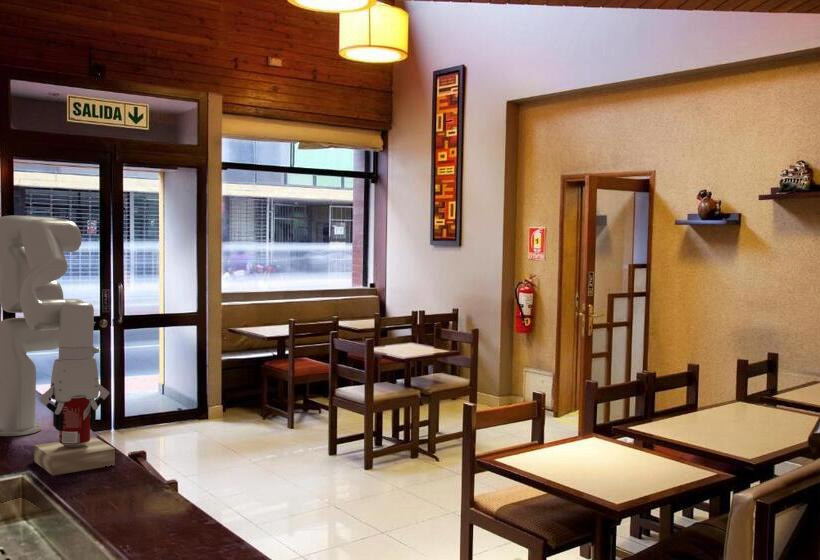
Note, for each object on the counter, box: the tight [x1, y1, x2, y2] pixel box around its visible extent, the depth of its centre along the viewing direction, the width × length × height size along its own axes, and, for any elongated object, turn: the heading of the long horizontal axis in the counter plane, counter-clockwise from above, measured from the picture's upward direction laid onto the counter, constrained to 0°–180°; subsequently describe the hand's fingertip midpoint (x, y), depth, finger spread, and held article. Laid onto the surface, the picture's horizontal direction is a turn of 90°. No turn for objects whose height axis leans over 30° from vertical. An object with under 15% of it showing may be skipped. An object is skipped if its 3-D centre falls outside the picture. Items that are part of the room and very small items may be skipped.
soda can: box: [58, 396, 91, 447], centre depth 177 cm, size 7×7×12 cm
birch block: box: [33, 436, 116, 476], centre depth 177 cm, size 14×14×4 cm
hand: (74, 426), depth 177 cm, fingers closed on soda can, 6 cm apart
